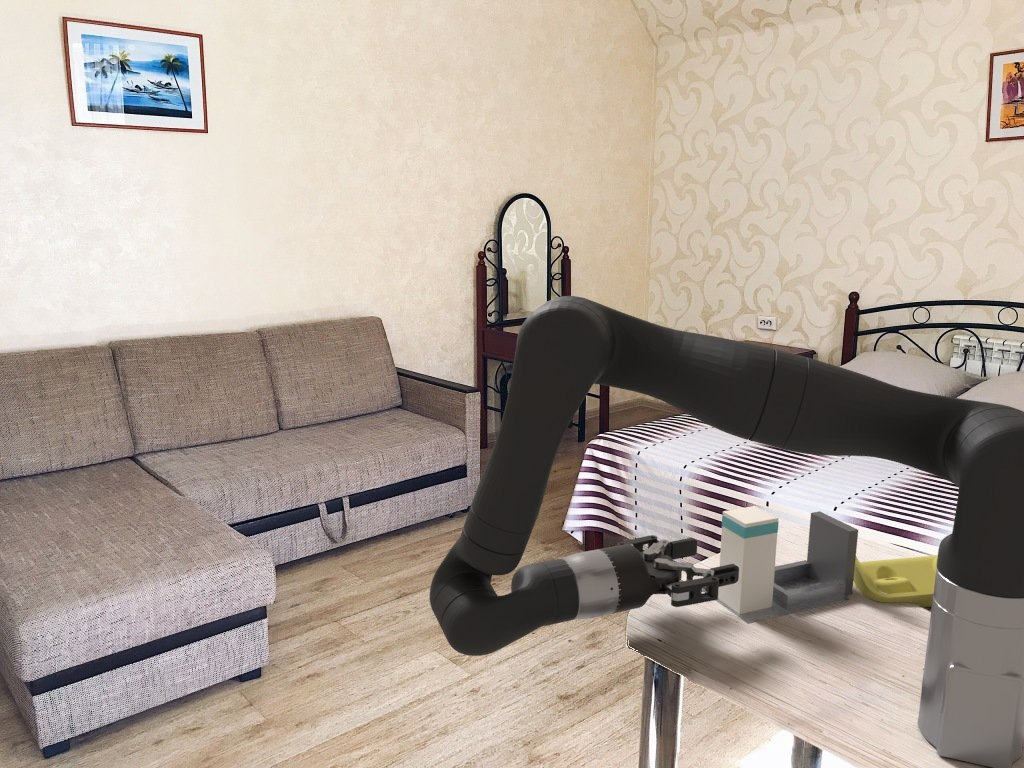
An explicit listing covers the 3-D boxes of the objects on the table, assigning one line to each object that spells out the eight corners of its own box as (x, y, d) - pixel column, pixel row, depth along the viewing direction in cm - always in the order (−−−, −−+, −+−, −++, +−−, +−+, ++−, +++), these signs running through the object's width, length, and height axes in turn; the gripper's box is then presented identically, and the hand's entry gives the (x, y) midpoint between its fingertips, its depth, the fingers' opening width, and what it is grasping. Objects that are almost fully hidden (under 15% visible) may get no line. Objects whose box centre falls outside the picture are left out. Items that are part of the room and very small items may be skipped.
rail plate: (747, 634, 104) (748, 608, 103) (703, 602, 112) (705, 577, 111) (847, 610, 110) (850, 585, 109) (799, 581, 118) (801, 558, 117)
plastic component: (872, 599, 108) (843, 539, 116) (860, 633, 113) (833, 573, 120) (1025, 585, 108) (986, 526, 116) (1007, 620, 113) (970, 561, 121)
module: (739, 614, 106) (745, 524, 103) (717, 598, 110) (722, 511, 107) (772, 606, 107) (778, 518, 105) (749, 591, 112) (755, 505, 109)
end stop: (842, 606, 111) (849, 531, 108) (804, 584, 117) (810, 512, 115) (851, 604, 111) (858, 529, 109) (813, 582, 118) (819, 511, 115)
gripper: (632, 577, 92) (754, 552, 98) (573, 530, 104) (684, 511, 111) (630, 640, 93) (750, 612, 99) (572, 586, 106) (681, 564, 112)
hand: (715, 558), depth 105 cm, fingers open, 8 cm apart
